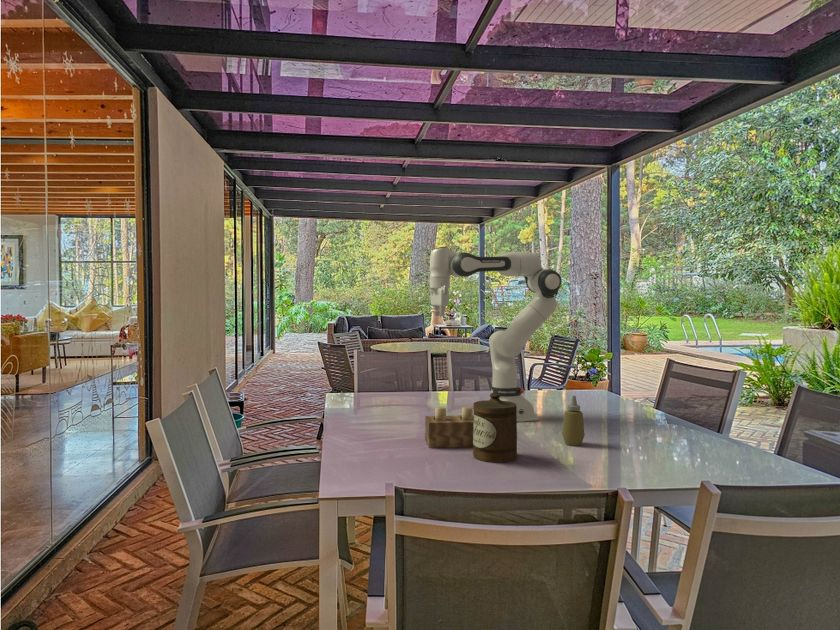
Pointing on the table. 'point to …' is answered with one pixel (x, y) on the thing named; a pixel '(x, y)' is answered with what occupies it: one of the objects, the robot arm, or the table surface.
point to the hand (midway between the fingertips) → (439, 316)
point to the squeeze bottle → (573, 424)
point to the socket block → (449, 432)
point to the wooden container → (495, 430)
